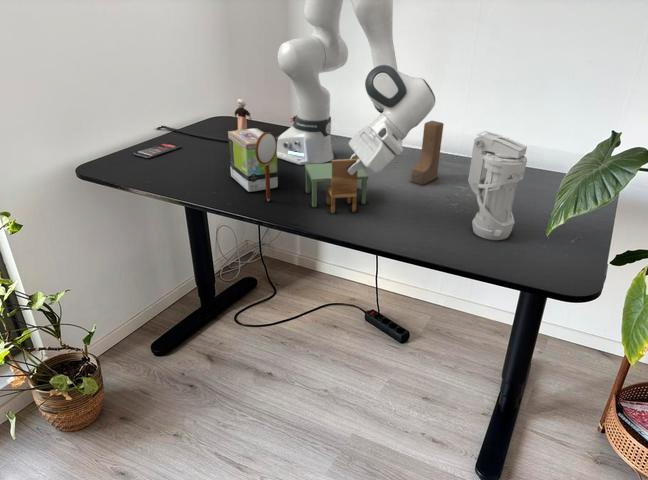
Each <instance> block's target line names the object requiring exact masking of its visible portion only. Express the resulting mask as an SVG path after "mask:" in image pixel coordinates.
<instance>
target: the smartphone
mask: <svg viewBox="0 0 648 480" xmlns="http://www.w3.org/2000/svg"><path fill="white" fill-rule="evenodd" d="M179 148H181V145H180V144H177V143H172V142H168V141H164V142H161V143H158V144H155V145H152V146H149V147H146V148H142V149H140V150H136V151H134V152H133V155H134V156H136V157H137V156H138V157H141V158H145V159H151V158H154V157H158V156H161V155H163V154H166V153H169V152H172V151H175V150H177V149H179Z"/></svg>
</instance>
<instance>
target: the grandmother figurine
mask: <svg viewBox="0 0 648 480" xmlns="http://www.w3.org/2000/svg"><path fill="white" fill-rule="evenodd" d="M236 104H237V107H238V108H236V109H235V110H234V112H233V118H237V129H236V130H245V129H248V123H247V122H248V121H247V118H248V119H249V120H252V119H253V118H252V115H251V113H250V111H249V110H247V109H246V108H245V107H246V105H247V103H246V101H245V100H244V99H243V98H237V101H236Z"/></svg>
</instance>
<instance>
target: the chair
mask: <svg viewBox="0 0 648 480" xmlns="http://www.w3.org/2000/svg"><path fill="white" fill-rule="evenodd" d="M357 160H358V159H350V158H347V159H346V158H345V159H332V160H331V163H332V172H331V181H330V182H331V183H330V184H328V185H326V205H327V206H328V205H330V213H331V214H335V213H336V199H340V198H341V199H342V198H346V203H347V204H351V212H353V213H354V212H357V197H358V195H357V193H358V180H357V174H358V171H356V172H355V173H354V174H353V175H351V174H350V173H348V171H347V168H348V167H349V166H350V165H351V166H352V165H353V164H355V163H356V161H357Z"/></svg>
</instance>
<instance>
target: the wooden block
mask: <svg viewBox="0 0 648 480" xmlns="http://www.w3.org/2000/svg"><path fill="white" fill-rule="evenodd" d="M444 125H445V124H444V123H443V122H440V121H436V120H430V121H427V122H424V125H423V135H422V144H421V153H420V158H419V160H418V162H417V165H415V166H414V167H413V168H412V170H411V178H410V179H411V180H410V182H411V183H415V184H417V185H421V186H423V185H425V184H427V183H430V182H431V181H433V180H435V179H437V178H438V171H439V163H440V155H441V150H442V149H441V148H442V140H443V139H442V138H443V132H444V131H443V130H444Z"/></svg>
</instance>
